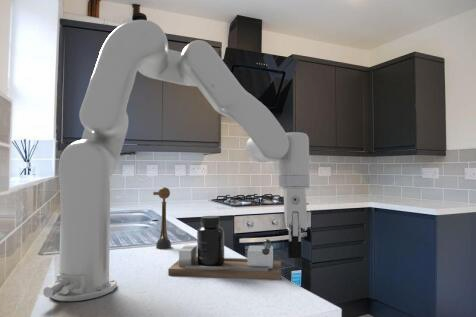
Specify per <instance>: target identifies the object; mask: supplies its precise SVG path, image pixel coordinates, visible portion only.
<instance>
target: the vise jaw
mask: <svg viewBox="0 0 476 317" xmlns="http://www.w3.org/2000/svg"><path fill="white" fill-rule="evenodd" d="M271 244H272V243H271V240H270V239H264V241H263V245H249V246H248V249H247V254H246V255H247V267H253V268H268V269H273V261H274V246H273V245H271Z"/></svg>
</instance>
